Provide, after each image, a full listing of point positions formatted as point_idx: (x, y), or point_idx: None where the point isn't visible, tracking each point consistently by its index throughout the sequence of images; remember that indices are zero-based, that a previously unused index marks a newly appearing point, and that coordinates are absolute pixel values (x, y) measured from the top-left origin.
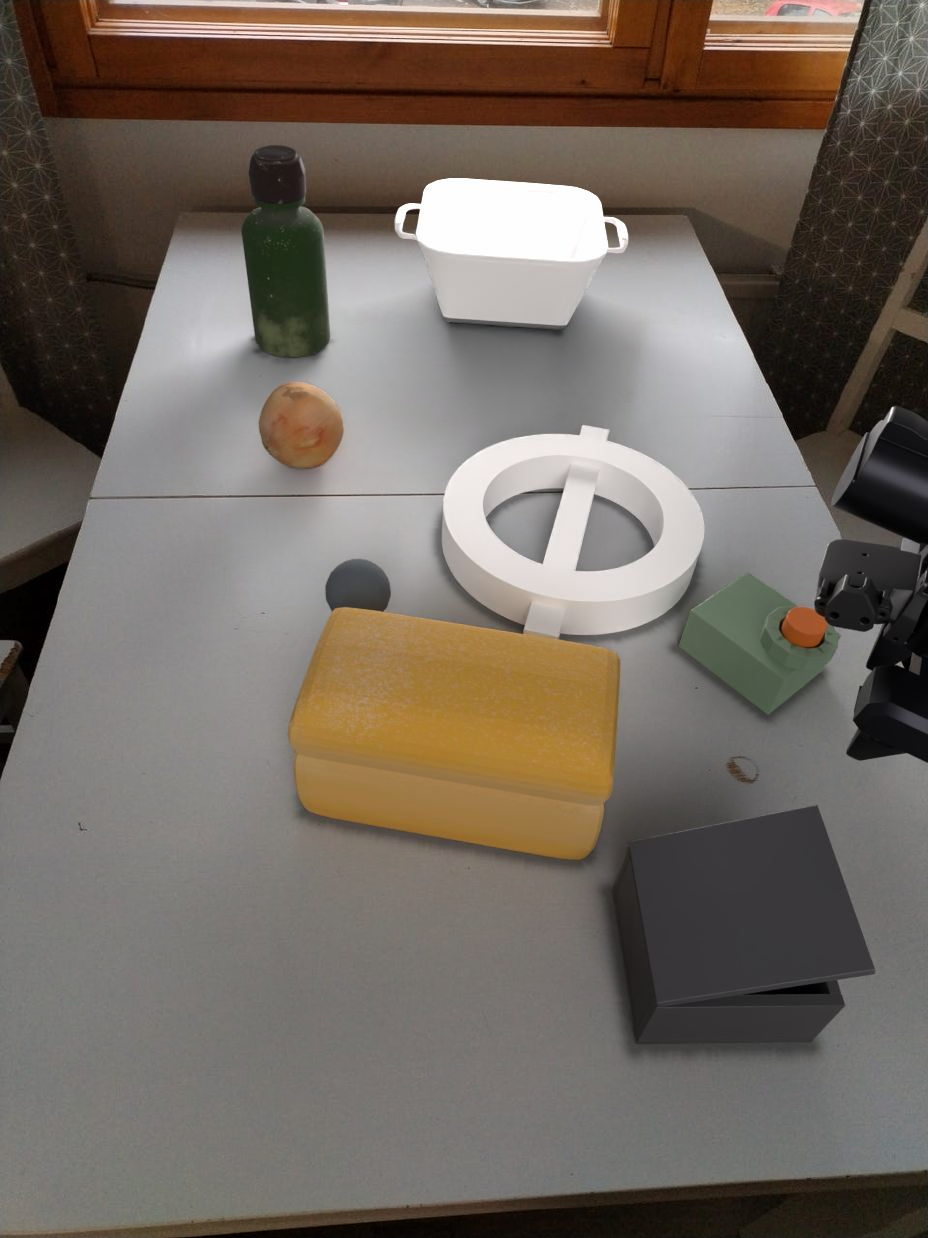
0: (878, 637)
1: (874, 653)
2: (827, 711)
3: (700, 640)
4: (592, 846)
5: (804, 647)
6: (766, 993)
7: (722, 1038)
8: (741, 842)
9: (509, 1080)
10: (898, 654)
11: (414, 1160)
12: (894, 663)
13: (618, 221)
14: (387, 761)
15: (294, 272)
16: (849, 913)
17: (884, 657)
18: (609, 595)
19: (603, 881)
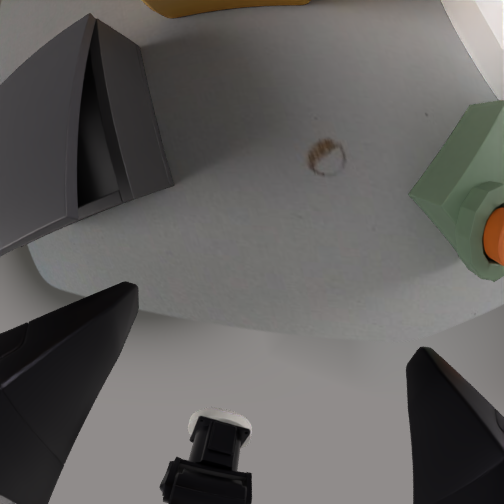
0: (472, 404)
1: (440, 379)
2: (419, 261)
3: (478, 117)
4: (150, 8)
5: (483, 235)
6: (77, 188)
7: None
8: (45, 116)
9: (25, 49)
10: (422, 429)
11: (4, 35)
12: (410, 410)
13: None
14: None
15: None
16: None
17: (426, 397)
18: (488, 17)
19: (147, 37)
